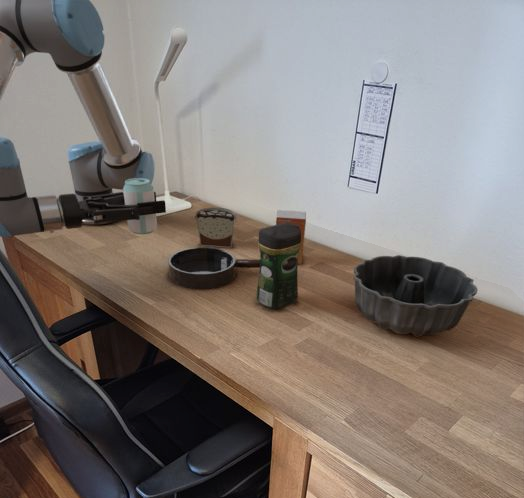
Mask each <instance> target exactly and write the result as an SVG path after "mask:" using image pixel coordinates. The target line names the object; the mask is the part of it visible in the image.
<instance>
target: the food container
mask: <svg viewBox="0 0 524 498" xmlns="http://www.w3.org/2000/svg"><path fill="white" fill-rule="evenodd" d="M194 220H196V224H197V230H198V237H199V245H200V246H201V247H212V248H229V249H232V247H233V246H232V245H233V238H234V230H235V229H234V228H235V222H236V223H237V222H238V220H237V215H236V213H235V211H233V210H232V209H228V208H224V207H205V208H200V209H198V210H196V211H195V213H194Z"/></svg>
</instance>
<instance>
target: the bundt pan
mask: <svg viewBox="0 0 524 498" xmlns="http://www.w3.org/2000/svg"><path fill="white" fill-rule="evenodd" d="M353 273H354V275H353V276H352V279H353V280H354V292H355V293H354V297H355V298H354V300H355V301H354V302H355V305H356V307H357V309H358V311H360V312H361V313H362V314H363V316H364V318H366V319H367V320H368V321H369V322H371V323H374V324H377V325H378V327H379V328H380V329H381V330H387V329H390V330H392V332H393V333H395V334H400V335H407V334H410V333H411V334H412V335H413V336H414V337H417V338H419V337H421V336H423V335H428V336H432V335H433V336H434V335H435V336H436V335H439V334H441V333H443V332H445V331H450V330H453V329H454V328H455V327H456V326H458V324H459V323H460V322H461V319H462V317H463V316H464V314H465V312H466V310H467V309H468V307H469V305H470V303H472V302H473V300H474V298H473V297H475V296H476V295H477V293H478V287H477V285H475V284H474V281H475V280H474V279H473V278H471V277H469V276H467V274H466V273H465V271H462V270H461V269H459V268H456V267H453V266H450V265H448V264H446V263H444V262H443V261H436V260H435V261H434V260H431V259H428V258H425V257H419V256H405V255H402V254H397V255H378V256H375V257H372V258H370V259H363V260H362V261H361V263H359V264H357V265H355V266H354V267H353Z"/></svg>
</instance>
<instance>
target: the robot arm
mask: <svg viewBox="0 0 524 498" xmlns="http://www.w3.org/2000/svg"><path fill="white" fill-rule="evenodd" d="M103 31H105V30H104V25H103V21H102V19H101V16H100V14H99V12H98V10H97V8H96V7H95V5H94V4H93V2H91V0H0V101H1V100H2V98H3V96H4V94H5V92H6V89H7V87H8V84H9V82H10V80H11V78H12V75H13V73H14V71H15V68H16V67H20V66H22V65H23V63H24V62H25V60H26V58H27V56H29V55H31V54H35V53H43V54H49V55H50V57H51V59H52V61H53V63H54V65H55V67H56V68H57V69H58V70H59V71H61V72H62V73H65V74H66V75H67V77H68V79H69V81H70V83H71V85H72V87H73V90H74V91H75V93H76V96H77V97H78V100H79V102H80V103H81V106H82V107H83V110H84V111H85V114H86V116H87V117H88V118H87V119H88V120H89V121H90V124H91V126H92V128H93V131H94V132H95V135H96V136H97V138H98V141H89V142H83V143H77V144H73V145H71V146H69V148H68V149H67V158H68V159H67V160H68V162H67V163H68V165H69V169H70V175H71V180H72V183H73V189H74V193H64V194H63V193H62V194H59V195H58V196H57V195H55V194H49V195H41V196H32V197H31V196H30V197H29V196H28V192H27V188H26V184H25V180H24V175H23V171H22V168H21V162H20V159H19V156H18V155H17V154H18V153H17V150H16V147H15V144H14V142H13V141H12V140H11V139H10V138H6V137H2V136H1V137H0V238H1V237H16V236H23V235H29V234H30V235H31V234H37V233H46V232H48V233H50V234H53V233H54V232H55V231H62V230H63V229H64V228H66V229H67V230H73V229H81V228H83V225H86V226H87V225H88V226H101V225H107V224H112V223H116V222H122V221H127V220H139V219H140V215H149V214H156V215H157V214H166V213H167V208H166V207H167V206H166V200H157V192H156V191H154V198H155V201H153V202H144V203H137V205H125V200H124V193H123V187H124V185H125V181H126V180H128V179H132V178H145V179H148V180H150V184H151V185H152V184H153V182H154V177H155V159H154V156H153V154H152V153H150V152H148V151H146V150H145V151H143V150H142V147H141V145H140V143H139V141H138V140H137V139H135V138H133V137H132V136H131V134H130V132H129V129H128V127H127V124H126V122H125V119H124V118H123V115H122V112H121V110H120V107H119V104H118V103H117V100H116V97H115V95H114V92H113V90H112V88H111V86H110V83H109V81H108V78H107V76H106V73H105V71H104V69H103V66H102V63H101V59H102V58H103V50H104V46H105V34H104V32H103ZM113 190H120V191H119V192H113ZM121 190H122V191H121ZM132 212H133V213H132Z"/></svg>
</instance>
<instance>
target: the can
mask: <svg viewBox="0 0 524 498" xmlns="http://www.w3.org/2000/svg"><path fill="white" fill-rule="evenodd" d="M122 192H123V193H124V200H125V205H137V203H144V202H153V201H155V198H154V192H155V189H154V186H153V185H152V184H150V180H148V179H145V178H132V179H128V180H126V181H125V185H124V187H123V190H122ZM132 213H133V212H132ZM157 219H158V218H157V214H149V215H140V219H139V220H126V221H127V229H128V230H129V231H130V232H131V233H132V234H136V235H149V234H152V233H154V232H155V231H156V230H157V229H158V221H157Z"/></svg>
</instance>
